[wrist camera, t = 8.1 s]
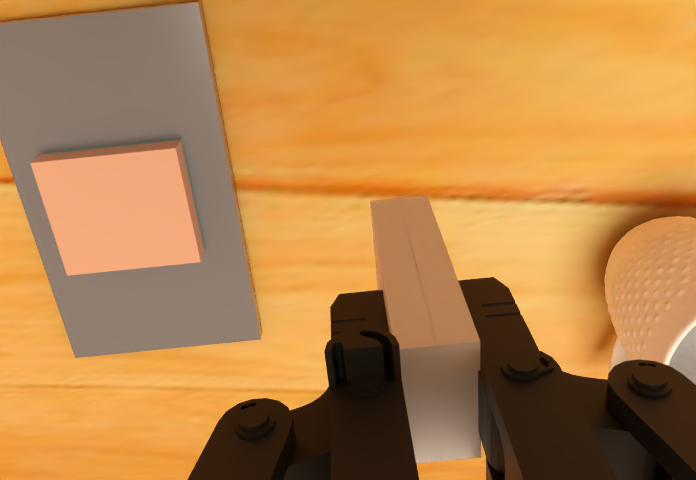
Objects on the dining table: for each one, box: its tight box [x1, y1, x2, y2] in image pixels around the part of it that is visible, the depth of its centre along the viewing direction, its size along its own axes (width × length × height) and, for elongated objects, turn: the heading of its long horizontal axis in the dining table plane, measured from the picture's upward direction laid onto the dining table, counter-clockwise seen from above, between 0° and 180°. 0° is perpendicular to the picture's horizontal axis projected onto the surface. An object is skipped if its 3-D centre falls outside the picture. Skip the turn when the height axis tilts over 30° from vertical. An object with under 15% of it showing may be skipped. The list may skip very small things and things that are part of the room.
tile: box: [30, 138, 206, 276], centre depth 43 cm, size 8×2×9 cm
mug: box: [604, 216, 696, 385], centre depth 44 cm, size 15×11×13 cm
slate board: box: [0, 1, 262, 358], centre depth 45 cm, size 24×14×1 cm, turn 5°
